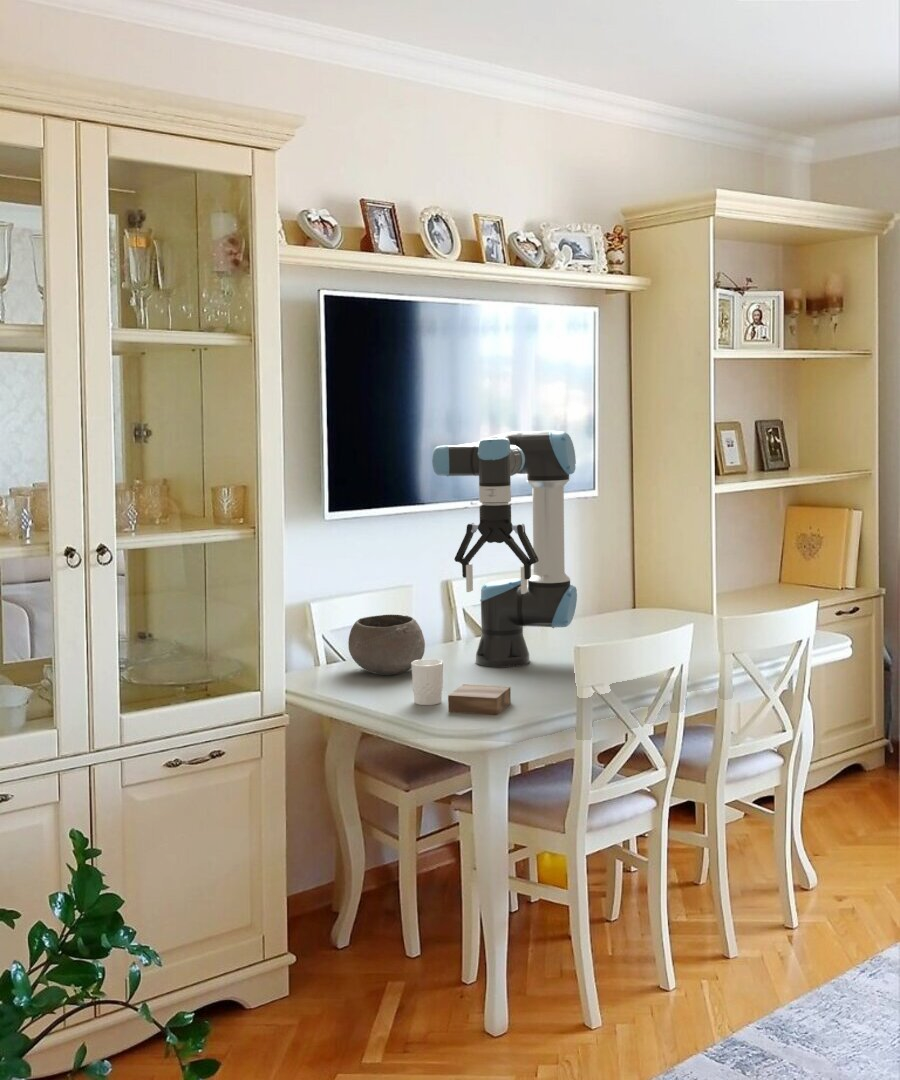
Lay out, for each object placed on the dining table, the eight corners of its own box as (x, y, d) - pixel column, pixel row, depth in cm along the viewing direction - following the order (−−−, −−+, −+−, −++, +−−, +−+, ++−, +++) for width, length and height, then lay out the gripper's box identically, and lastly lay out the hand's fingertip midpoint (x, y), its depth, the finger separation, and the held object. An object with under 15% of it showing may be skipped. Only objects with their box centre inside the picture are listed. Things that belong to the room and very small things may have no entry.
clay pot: (423, 680, 332) (422, 624, 331) (345, 681, 333) (343, 626, 331) (427, 663, 353) (426, 611, 352) (353, 664, 354) (352, 612, 352)
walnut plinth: (463, 700, 310) (463, 684, 310) (510, 702, 306) (510, 686, 306) (448, 711, 299) (448, 695, 298) (496, 714, 295) (496, 698, 295)
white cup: (447, 704, 306) (447, 664, 305) (416, 707, 304) (415, 666, 303) (439, 697, 314) (438, 657, 313) (408, 700, 312) (407, 660, 310)
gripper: (440, 504, 298) (442, 592, 300) (541, 505, 290) (543, 596, 292) (450, 501, 305) (452, 588, 307) (550, 502, 297) (551, 591, 299)
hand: (496, 592), depth 300 cm, fingers open, 13 cm apart
